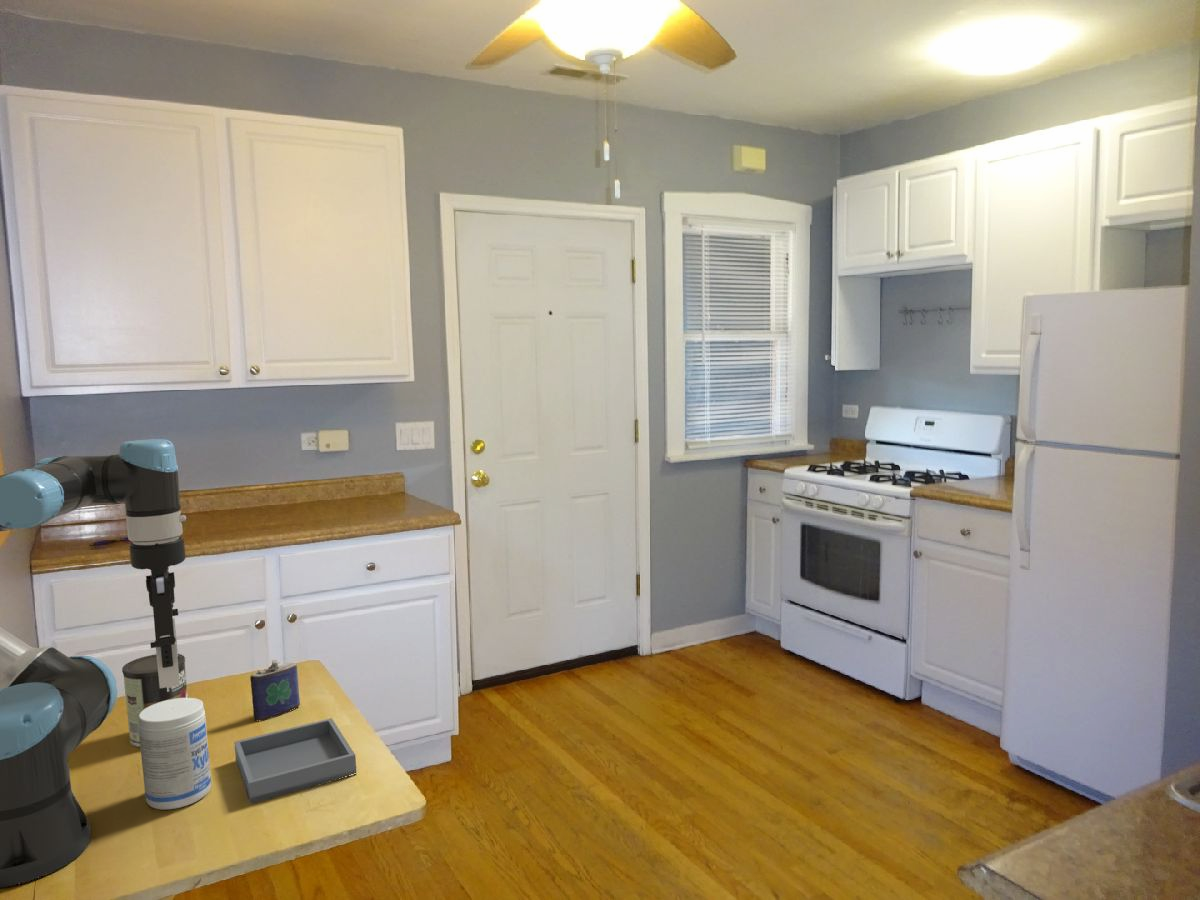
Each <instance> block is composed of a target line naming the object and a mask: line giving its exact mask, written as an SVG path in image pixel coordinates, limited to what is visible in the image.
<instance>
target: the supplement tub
mask: <svg viewBox="0 0 1200 900" xmlns="http://www.w3.org/2000/svg"><path fill="white" fill-rule="evenodd" d="M138 726H139V738H140V747H139V748H140V755H141V763H142V764H141V765H142V775H143V785H144V794H145V796H144V797H145V801H146V803H147V804H148V806H150V807H151V808H153V809H156V810H164V811H166V810H174V809H179V808H183V807H187V806H189V805H192V804H194V803H196V802H198V801H199V800H201V799H202V798H204V797H205V796H206V795H208V793H209V792H210V790H211V788H212V776H211V766H210V755H209V743H208V732H207V730H208V729H207V719H206V712H205V708H204V703H203V701H202V700H201V699H198V698H195V697H188V698H176V699H171V700H166V701H162V702H159V703H156V704H154V705H151V706H149V707H147V708H146V709H144V710H143V711H142V712H141V713H140V714H139V724H138Z"/></svg>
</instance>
